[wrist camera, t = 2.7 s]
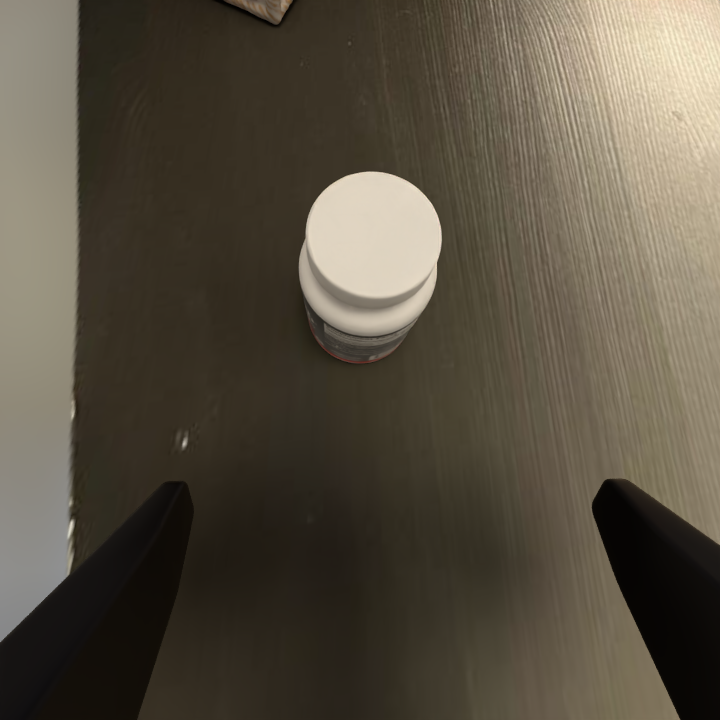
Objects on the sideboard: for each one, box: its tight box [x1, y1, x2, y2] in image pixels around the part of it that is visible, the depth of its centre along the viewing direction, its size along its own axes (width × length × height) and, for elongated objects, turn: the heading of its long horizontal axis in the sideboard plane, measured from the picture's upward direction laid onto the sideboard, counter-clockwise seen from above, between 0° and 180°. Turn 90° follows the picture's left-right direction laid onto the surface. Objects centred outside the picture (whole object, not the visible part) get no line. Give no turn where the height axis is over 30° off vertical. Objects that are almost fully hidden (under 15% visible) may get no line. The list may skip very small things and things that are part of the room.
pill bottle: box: [299, 172, 442, 363], centre depth 19 cm, size 6×6×10 cm
